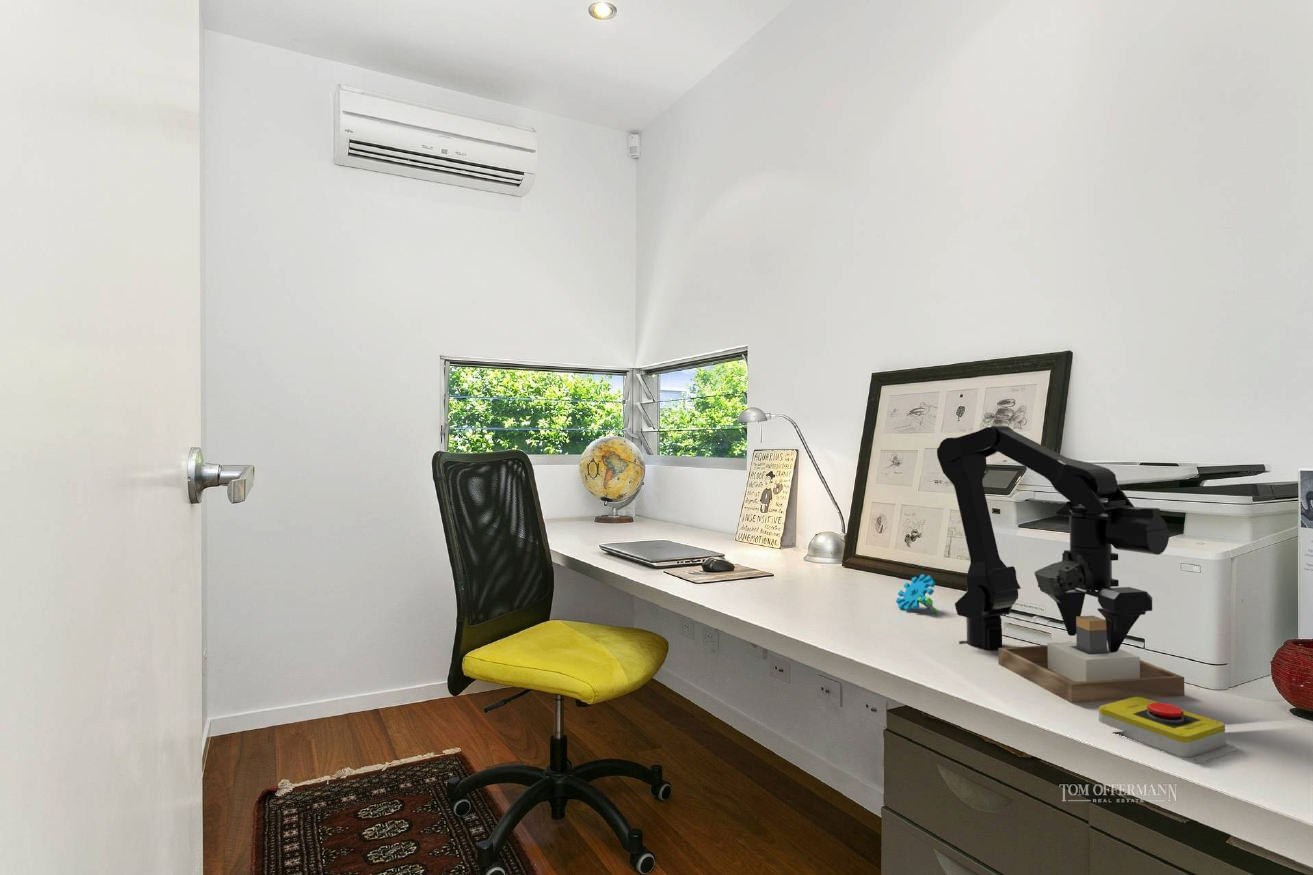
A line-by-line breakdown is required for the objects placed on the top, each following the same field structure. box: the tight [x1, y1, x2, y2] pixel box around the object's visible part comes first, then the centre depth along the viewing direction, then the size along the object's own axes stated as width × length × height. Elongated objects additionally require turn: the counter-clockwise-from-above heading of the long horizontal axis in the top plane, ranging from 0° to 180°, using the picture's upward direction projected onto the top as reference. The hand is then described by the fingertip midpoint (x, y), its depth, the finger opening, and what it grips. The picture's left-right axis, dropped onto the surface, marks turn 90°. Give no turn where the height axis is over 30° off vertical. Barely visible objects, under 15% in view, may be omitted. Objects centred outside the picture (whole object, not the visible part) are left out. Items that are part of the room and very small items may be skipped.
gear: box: [895, 573, 939, 614], centre depth 165 cm, size 11×6×10 cm
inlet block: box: [1046, 640, 1141, 682], centre depth 117 cm, size 9×9×4 cm
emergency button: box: [1098, 697, 1240, 764], centre depth 96 cm, size 9×4×15 cm
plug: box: [1075, 615, 1108, 655], centre depth 117 cm, size 3×3×8 cm
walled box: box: [997, 644, 1186, 704], centre depth 115 cm, size 18×18×4 cm
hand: (1091, 643), depth 117 cm, fingers open, 9 cm apart
